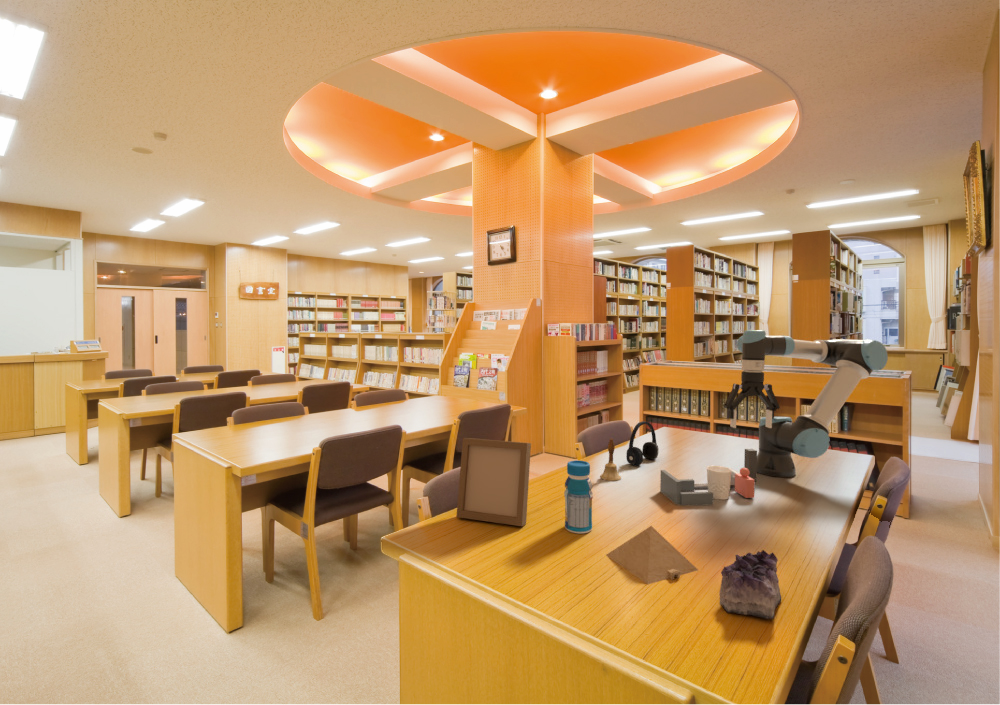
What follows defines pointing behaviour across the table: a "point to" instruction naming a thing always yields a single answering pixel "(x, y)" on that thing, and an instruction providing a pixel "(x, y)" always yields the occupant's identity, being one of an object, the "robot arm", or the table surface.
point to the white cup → (719, 481)
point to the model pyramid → (651, 557)
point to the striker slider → (746, 475)
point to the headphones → (648, 449)
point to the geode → (751, 585)
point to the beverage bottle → (578, 498)
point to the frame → (675, 491)
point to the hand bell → (610, 465)
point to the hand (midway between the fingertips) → (750, 427)
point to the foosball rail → (706, 486)
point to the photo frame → (494, 481)
